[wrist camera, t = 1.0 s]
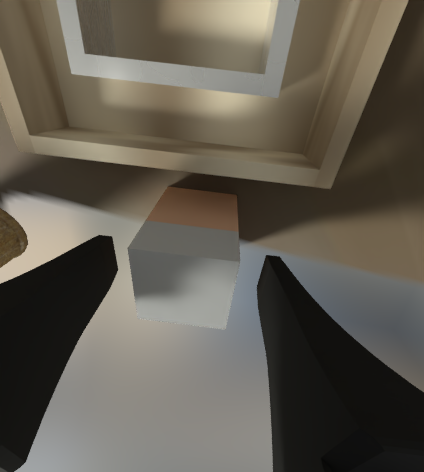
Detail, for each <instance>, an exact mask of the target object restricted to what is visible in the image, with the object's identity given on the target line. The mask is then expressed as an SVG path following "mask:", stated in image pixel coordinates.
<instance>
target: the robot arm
mask: <svg viewBox="0 0 424 472" xmlns="http://www.w3.org/2000/svg"><path fill="white" fill-rule="evenodd" d="M117 271H118V266H117V261H116V255H115V250H114V244H113V239H112V237H111V236H102V235H98V236H96V237H94V238H92V239H90V240H88V241H86V242H84V243H83V244H81V245H79V246H77V247H75V248H73V249H71V250H69V251H68V252H66V253H64V254H62V255H60V256H58V257H56V258H55V259H53V260H51V261H49V262H47V263H45V264H43V265H41V266H39V267H36V268H35V269H32V270H30V271H28V272H26V273H24V274H22V275H20V276H17V277H15V278H13V279H11V280H8V281H6V282H4V283H1V284H0V472H14V471H16V470H17V469H18V468H20V467H21V466H22V465H23V464H24V463H25V462H26V460H27V457H28V454H29V452H30V449H31V446H32V444H33V441H34V439H35V436H36V434H37V431H38V429H39V426H40V424H41V421H42V418H43V416H44V414H45V412H46V409H47V407H48V405H49V402H50V400H51V398H52V395H53V393H54V391H55V388H56V386H57V384H58V382H59V379H60V377H61V375H62V373H63V371H64V369H65V366H66V364H67V362H68V360H69V358H70V356H71V354H72V352H73V350H74V348H75V346H76V344H77V342H78V340H79V338H80V336H81V335H82V333H83V331H84V329H85V328H86V326H87V325H88V323H89V321H90V320H91V318H92V317H93V315H94V313H95V312H96V310H97V309H98V307H99V305H100V304H101V302H102V300H103V299H104V297H105V296H106V294H107V292H108V291H109V289H110V287H111V285H112V283H113V280H114V278H115V276H116V274H117ZM257 299H258V310H259V316H260V321H261V327H262V333H263V339H264V344H265V350H266V357H267V365H268V377H269V389H270V407H271V426H272V450H273V472H424V392H422V391H421V390H419V389H418V388H416V387H415V386H414V385H412V384H411V383H409V382H408V381H407V380H405V379H404V378H403V377H401V376H400V375H398V374H397V373H396V372H394V371H393V370H392V369H391V368H389V367H388V366H387V365H385V364H384V363H383V362H381V361H380V360H379V359H378V358H376V357H375V356H374V355H373V354H371V353H370V352H369V351H368V350H367V349H366V348H364V347H363V346H362V345H361V344H360V343H358V342H357V341H356V340H355V339H354V338H353V337H352V336H350V335H349V334H348V333H347V332H346V331H345V330H344V329H343V328H342V327H341V326H340V325H338V324H337V323H336V322H335V321H334V320H333V319H332V318H331V317H330V316H329V315H328V314H327V313H326V312H325V311H324V310H323V309H322V307H321V306H320V305H319V304H318V303H317V302H316V301H315V300H314V299H313V298H312V297H311V295H310V294H309V293H308V292H307V291H306V290H305V288H304V287H303V286H302V285H301V284H300V282H299V281H298V280H297V279H296V277H295V276H294V275H293V274H292V272H291V271H290V270H289V268H288V267H287V266H286V264H285V263H284V262H283V261H282V260H281V258H280V257H278V256H270V255H266V258H265V261H264V264H263V268H262V271H261V275H260V278H259V281H258V285H257Z"/></svg>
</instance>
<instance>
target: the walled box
mask: <svg viewBox="0 0 424 472" xmlns="http://www.w3.org/2000/svg"><path fill="white" fill-rule="evenodd" d="M110 1H111V10H112V19H113V28H114V37H115V46H116V55H117V58H126V59H134V60H143V61H152V62H160V63H169V64H178V65H186V66H195V67H204V68H212V69H221V70H230V71H238V72H247V73H256V74H258V72H259V67H260V61H261V55H262V49H263V43H264V37H265V32H266V26H267V20H268V14H269V8H270V3H271V0H110ZM408 1H409V0H300V2H299V7H298V11H297V16H296V20H295V25H294V29H293V34H292V38H291V43H290V47H289V52H288V56H287V61H286V65H285V70H284V74H283V79H282V83H281V88H280V92H279V97H278V98H274V97H265V96H257V95H248V94H239V93H231V92H222V91H213V90H205V89H196V88H188V87H179V86H170V85H162V84H153V83H145V82H136V81H127V80H119V79H110V78H102V77H93V76H84V75H76V74H71V69H70V65H69V60H68V55H67V50H66V45H65V40H64V35H63V31H62V26H61V21H60V16H59V11H58V6H57V1H56V0H0V102H1V104H2V107H3V110H4V113H5V115H6V118H7V121H8V123H9V126H10V129H11V131H12V134H13V137H14V140H15V142H16V145H17V148H18V150H19V152H26V153H35V154H43V155H51V156H60V157H68V158H76V159H85V160H93V161H101V162H110V163H118V164H126V165H135V166H143V167H151V168H160V169H168V170H176V171H185V172H193V173H201V174H210V175H218V176H227V177H235V178H243V179H252V180H260V181H268V182H277V183H285V184H293V185H302V186H310V187H318V188H327V189H331V187H332V184H333V182H334V179H335V177H336V175H337V172H338V170H339V167H340V165H341V162H342V160H343V158H344V155H345V153H346V150H347V148H348V146H349V143H350V141H351V138H352V136H353V133H354V131H355V129H356V126H357V124H358V121H359V119H360V117H361V114H362V112H363V109H364V107H365V104H366V102H367V100H368V97H369V95H370V92H371V90H372V88H373V85H374V83H375V80H376V78H377V75H378V73H379V71H380V68H381V66H382V63H383V61H384V59H385V56H386V54H387V51H388V49H389V46H390V44H391V42H392V39H393V37H394V34H395V32H396V30H397V27H398V25H399V22H400V20H401V17H402V15H403V13H404V10H405V8H406V5H407V3H408Z"/></svg>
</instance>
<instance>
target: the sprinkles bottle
mask: <svg viewBox="0 0 424 472" xmlns="http://www.w3.org/2000/svg"><path fill="white" fill-rule="evenodd" d="M27 245H28V240H27V235H26V233H25V231H24V230H23V228H22V227H21V225H20V224H19V223H18V222H17V221H16V220H15V219H14V218H13V217H12V216H10V215H9V214H8V213H7V212H6V211H4V210H2V209H1V208H0V268H1V267H2V266H3V265H5V264H7V263H8V262H9V261H10V260H12V259H13V258H15V257H18V256H20V255H21V254H22V253H23V252H24V251H25V249H26V247H27Z"/></svg>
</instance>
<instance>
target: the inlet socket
mask: <svg viewBox="0 0 424 472" xmlns="http://www.w3.org/2000/svg"><path fill="white" fill-rule="evenodd" d="M56 1H57V6H58V11H59V16H60V21H61V26H62V31H63V35H64V40H65V45H66V50H67V55H68V60H69V65H70V69H71V74H76V75H84V76H93V77H102V78H110V79H119V80H127V81H136V82H145V83H153V84H162V85H170V86H179V87H188V88H196V89H205V90H213V91H222V92H231V93H239V94H248V95H257V96H265V97H274V98H278V97H279V92H280V88H281V83H282V79H283V74H284V70H285V65H286V61H287V56H288V52H289V47H290V43H291V38H292V34H293V29H294V25H295V20H296V16H297V11H298V7H299V2H300V0H271V3H270V8H269V14H268V20H267V26H266V32H265V37H264V43H263V49H262V55H261V61H260V67H259V72H258V74H256V73H247V72H238V71H230V70H221V69H212V68H204V67H195V66H186V65H178V64H169V63H160V62H152V61H143V60H134V59H126V58H117V55H116V46H115V37H114V28H113V19H112V10H111V1H110V0H56Z"/></svg>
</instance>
